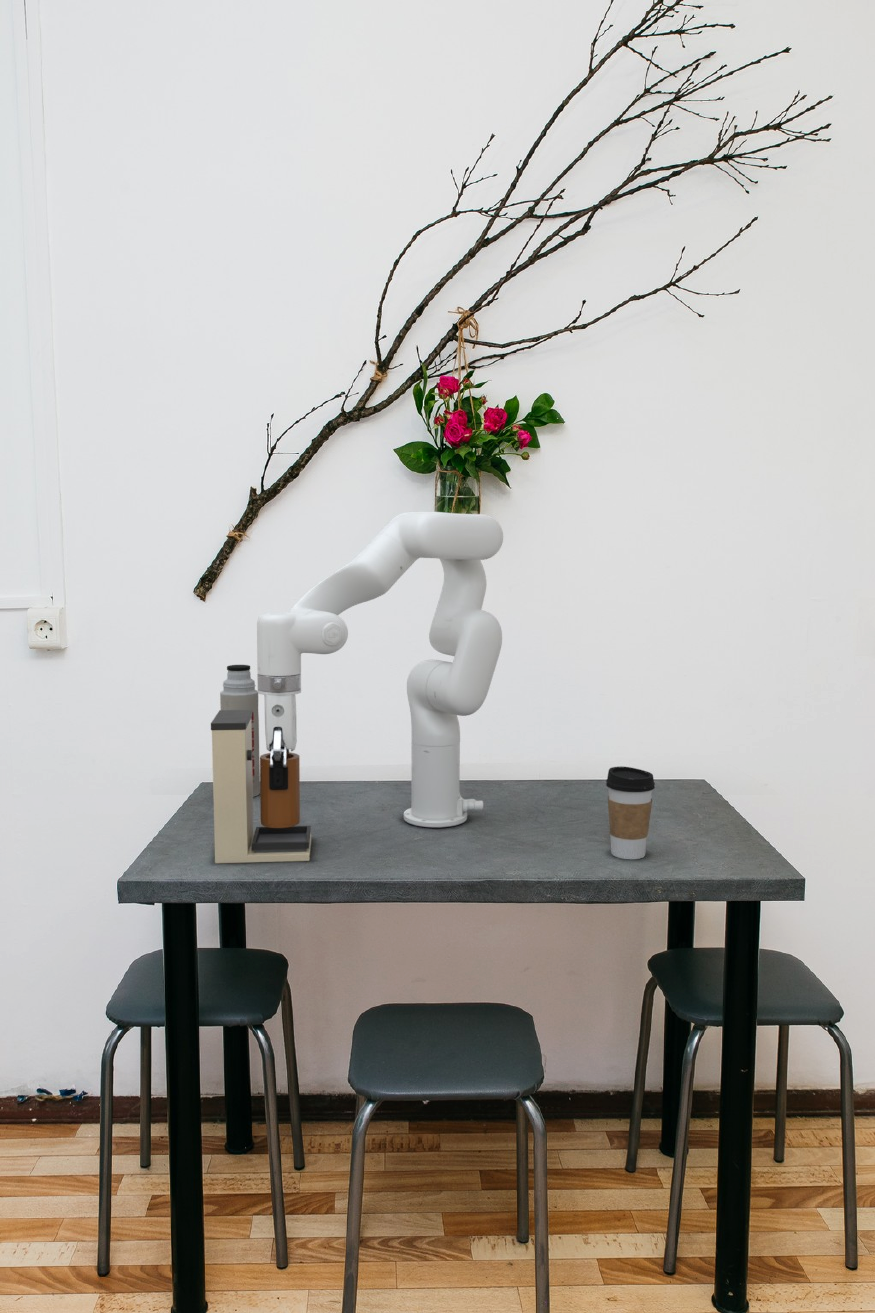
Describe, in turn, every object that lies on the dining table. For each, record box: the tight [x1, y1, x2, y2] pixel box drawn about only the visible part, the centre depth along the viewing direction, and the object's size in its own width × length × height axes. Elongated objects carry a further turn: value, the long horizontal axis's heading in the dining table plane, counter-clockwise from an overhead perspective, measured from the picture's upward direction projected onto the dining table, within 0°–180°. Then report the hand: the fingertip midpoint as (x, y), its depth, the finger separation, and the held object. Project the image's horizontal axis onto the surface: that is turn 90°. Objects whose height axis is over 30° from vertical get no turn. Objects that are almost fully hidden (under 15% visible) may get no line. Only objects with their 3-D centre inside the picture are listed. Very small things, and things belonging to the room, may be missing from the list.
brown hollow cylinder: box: [259, 751, 301, 828], centre depth 175 cm, size 7×7×12 cm
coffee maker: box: [210, 709, 312, 864], centre depth 174 cm, size 16×12×24 cm
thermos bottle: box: [219, 664, 260, 798], centre depth 212 cm, size 8×8×28 cm
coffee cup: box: [605, 765, 656, 860], centre depth 174 cm, size 8×8×15 cm
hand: (280, 783), depth 174 cm, fingers closed on brown hollow cylinder, 6 cm apart
